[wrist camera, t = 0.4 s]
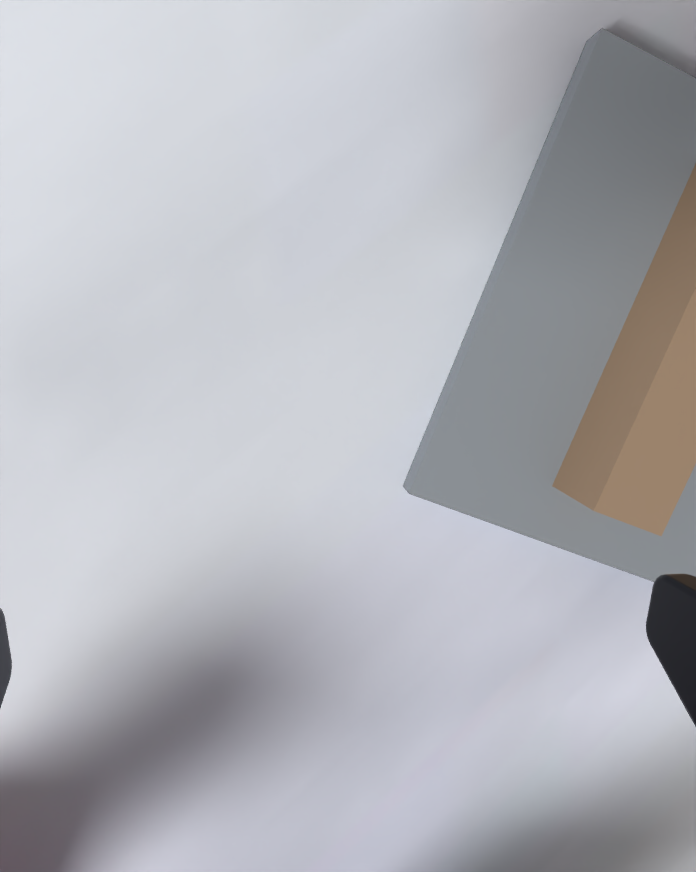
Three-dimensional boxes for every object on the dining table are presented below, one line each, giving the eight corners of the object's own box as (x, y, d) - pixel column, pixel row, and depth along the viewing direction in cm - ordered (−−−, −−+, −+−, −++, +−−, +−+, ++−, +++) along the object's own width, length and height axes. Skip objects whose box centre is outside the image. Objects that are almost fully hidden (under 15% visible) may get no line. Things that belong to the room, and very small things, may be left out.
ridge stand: (680, 586, 26) (755, 635, 22) (402, 486, 23) (430, 520, 20) (871, 190, 24) (991, 166, 20) (586, 41, 21) (658, -20, 18)
